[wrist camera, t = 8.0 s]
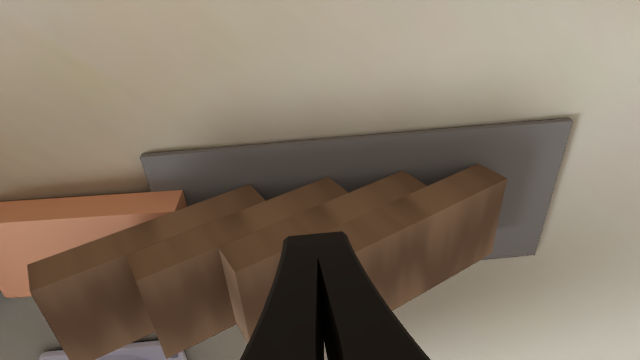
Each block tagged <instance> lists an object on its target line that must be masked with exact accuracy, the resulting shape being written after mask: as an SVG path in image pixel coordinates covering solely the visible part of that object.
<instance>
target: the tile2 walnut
mask: <svg viewBox="0 0 640 360" xmlns="http://www.w3.org/2000/svg"><path fill="white" fill-rule="evenodd" d="M424 187H427V185H425V184H423V183H422V182H420V181H419V180H417V179H416V178H414V177H413V176H411V175H410V174H408V173H406V172H405V171H403V170H402V171H400V172H397V173H395V174H393V175H390V176H388V177H385V178H383V179H381V180H378V181H376V182H373V183H371V184H369V185H366V186H364V187H361V188H359V189H357V190H354V191H352V192H350V193H347V194H345V195H342V196H340V197H338V198H335V199H333V200H330V201H328V202H326V203H323V204H321V205H318V206H316V207H314V208H311V209H309V210H306V211H304V212H302V213H299V214H297V215H294V216H292V217H290V218H287V219H285V220H282V221H280V222H278V223H275V224H273V225H270V226H268V227H266V228H263V229H261V230H258V231H256V232H254V233H251V234H249V235H246V236H244V237H242V238H239V239H237V240H234V241H232V242H230V243H227V244H225V245H222V246H220V247H218V248H219V253H220V257H221V261H222V265H223V269H224V274H225V278H226V282H227V286H228V291H229V295H230V299H231V303H232V307H233V312H234V316H235V320H236V324H237V326H238V328H239V329H240V331H241V333H242V335H243V336H244V338H245V340H246V341H247V343H248V342H249V340H250V338H251V335H252V333H253V331H254V329H255V327H256V324H257V322H258V320H259V318H260V315H261V313H262V311H263V308H264V305H265V303H266V300H267V297H268V295H269V292H270V289H271V287H272V284H273V281H274V278H275V275H276V271H277V268H278V265H279V261H280V257H281V252H282V247H283V240H284V239H286V238H287V237H288V236H295V235H306V234H317V233H323V232H326V231H328V230H330V229H332V228H335V227H337V226H339V225H341V224H344V223H346V222H348V221H350V220H353V219H355V218H357V217H359V216H362V215H364V214H366V213H368V212H371V211H373V210H375V209H377V208H380V207H382V206H384V205H386V204H388V203H391V202H393V201H395V200H397V199H400V198H402V197H404V196H406V195H409V194H411V193H413V192H415V191H418V190H420V189H422V188H424Z"/></svg>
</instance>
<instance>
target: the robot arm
mask: <svg viewBox="0 0 640 360" xmlns="http://www.w3.org/2000/svg"><path fill="white" fill-rule="evenodd" d="M324 343H325V348H326V353H327V358H328V360H430V358H429V357H428V356H427V355H426V354H425V353H424V351H423V350H422V349H421V348H420V347H419V345H418V344H417V343H416V342H415V341H414V339H413V338H412V337H411V336H410V334H409V333H408V332H407V330H406V329H405V328H404V327H403V325H402V324H401V323H400V321H399V320H398V319H397V317H396V316H395V315H394V313H393V312H392V311H391V309H390V308H389V306H388V305H387V304H386V302H385V301H384V299H383V298H382V296H381V295H380V293H379V292H378V290H377V289H376V287H375V286H374V284H373V283H372V281H371V280H370V278H369V277H368V275H367V273H366V272H365V270H364V268H363V266H362V265H361V263H360V261H359V259H358V258H357V256H356V254H355V252H354V250H353V248H352V246H351V244H350V242H349V239H348V237H347V235H346V234H345V233H344V232H342V231H339V232H328V233H317V234H306V235H295V236H288V237H287V238H286V239H284V240H283V247H282V252H281V257H280V261H279V265H278V268H277V271H276V275H275V278H274V281H273V284H272V287H271V289H270V292H269V295H268V297H267V300H266V303H265V305H264V308H263V311H262V313H261V315H260V318H259V320H258V322H257V324H256V327H255V329H254V331H253V333H252V335H251V338H250V340H249V342H248V344H247V347H246V349H245V351H244V353H243V355H242V357H241V359H240V360H324ZM38 360H69V359H68V357H67V355H66V353H65V352H64V350H58V351H48V352H43V353H42V354H41V355H40V357H39V359H38ZM96 360H187V359H186V356H185V353H184V351H182V352H180V353H178V354H176V355H174V356H172V357H170V358H168V359H166V357H165V355H164V352H163V350H162V347H161V345H160V342H159V340H158V341H148V342H138V343H130V344H128V345H126V346H124V347H121V348H119V349H117V350H115V351H113V352H111V353H109V354H107V355H104V356H102V357H100V358H98V359H96Z"/></svg>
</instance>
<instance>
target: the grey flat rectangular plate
mask: <svg viewBox="0 0 640 360" xmlns="http://www.w3.org/2000/svg"><path fill="white" fill-rule="evenodd" d="M572 123H573V120H571V119H570V118H563V119H551V120H540V121H528V122H516V123H504V124H492V125H480V126H468V127H456V128H444V129H433V130H421V131H409V132H397V133H385V134H373V135H361V136H349V137H337V138H326V139H314V140H302V141H290V142H278V143H266V144H254V145H242V146H230V147H219V148H207V149H195V150H183V151H171V152H159V153H147V154H141V156H140V159H141V162H142V166H143V169H144V172H145V175H146V178H147V181H148V185H149V188H150V191H151V192H158V191H173V190H183V193H184V197H185V200H186V204H187V207H188V206H191V205H193V204H196V203H199V202H202V201H204V200H207V199H210V198H213V197H215V196H218V195H221V194H224V193H227V192H229V191H232V190H235V189H238V188H240V187H243V186H246V185H249V184H251V186H252V187H253V188H254V189H255V190H256V191H257V192H258V193H259V194H260V195H261V196H262V197H263V198H264V200H265V201H267V200H269V199H272V198H274V197H277V196H280V195H282V194H285V193H287V192H290V191H293V190H295V189H298V188H300V187H303V186H305V185H308V184H311V183H313V182H316V181H318V180H321V179H323V178H326V177H330V178H331V179H332V180H333V181H335V182H336V183H337V184H338V185H340V186H341V187H342V188H343V189H345V190H346V191H347V192H348V193H350V192H352V191H354V190H357V189H359V188H361V187H364V186H366V185H369V184H371V183H373V182H376V181H378V180H381V179H383V178H385V177H388V176H390V175H393V174H395V173H397V172H400V171H402V170H403V171H405V172H406V173H408V174H410V175H411V176H413V177H414V178H416V179H417V180H419V181H420V182H422V183H423V184H425V185H427V186H429V185H431V184H433V183H436V182H438V181H440V180H442V179H445V178H447V177H449V176H451V175H453V174H456V173H458V172H460V171H462V170H465V169H467V168H469V167H471V166H474V165H476V164H478V163H479V164H481V165H483V166H485V167H486V168H488V169H490V170H492V171H494V172H496V173H498V174H500V175H501V176H503V177H505V178H507V182H506V187H505V192H504V196H503V201H502V206H501V211H500V215H499V220H498V225H497V229H496V234H495V239H494V244H493V248H492V253H491V254H490V255H488V256H486V257H485V258H483V259H481V260H486V259H496V258H507V257H517V256H528V255H535V253H536V249H537V246H538V242H539V239H540V235H541V232H542V228H543V225H544V221H545V218H546V214H547V211H548V207H549V204H550V200H551V197H552V193H553V190H554V186H555V183H556V179H557V176H558V172H559V168H560V165H561V161H562V158H563V154H564V151H565V147H566V144H567V140H568V137H569V133H570V130H571V126H572Z"/></svg>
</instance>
